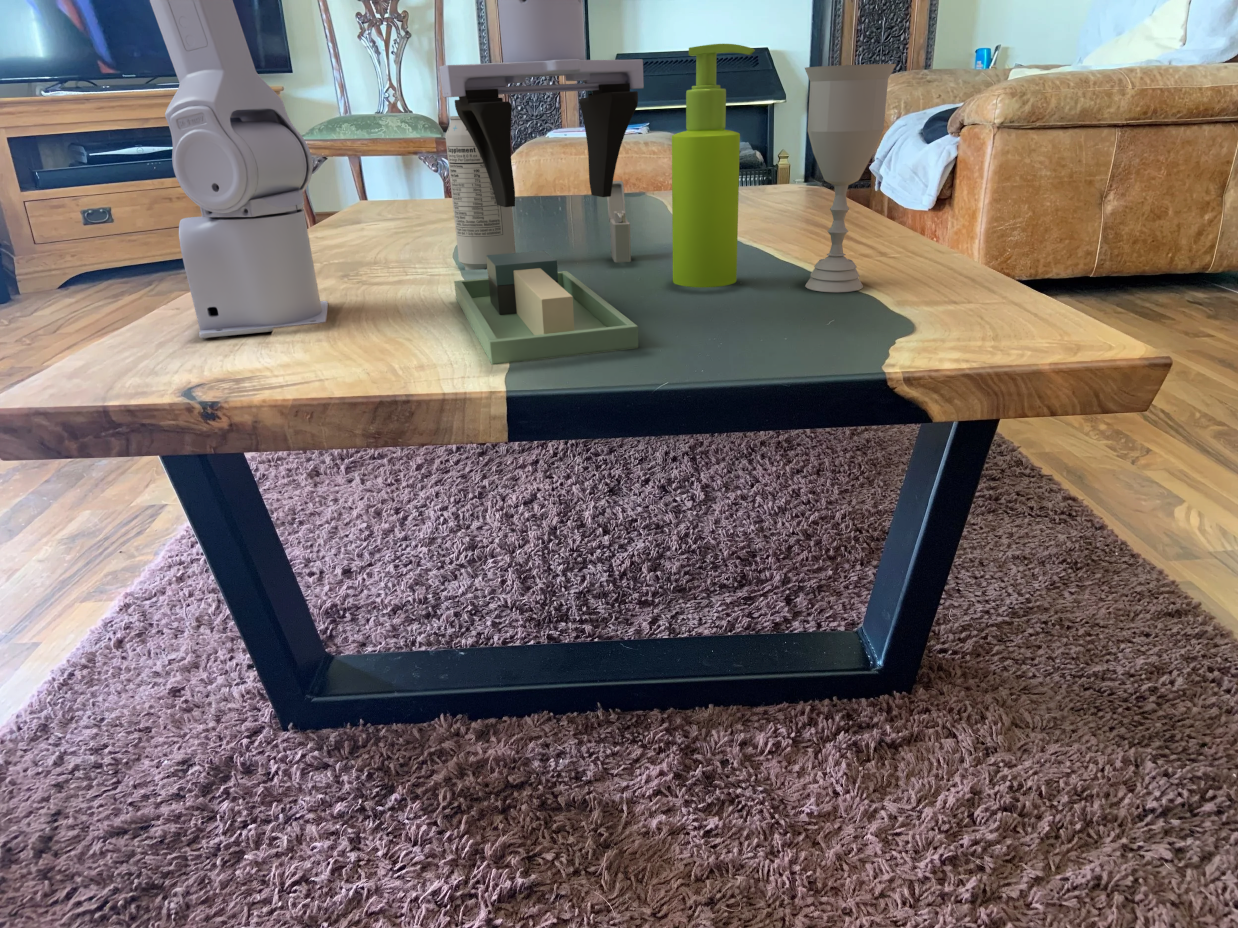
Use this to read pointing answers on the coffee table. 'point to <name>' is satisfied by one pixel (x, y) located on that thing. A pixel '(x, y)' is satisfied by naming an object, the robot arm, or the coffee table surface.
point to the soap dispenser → (706, 181)
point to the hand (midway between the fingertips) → (554, 201)
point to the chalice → (844, 150)
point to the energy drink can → (475, 202)
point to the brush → (530, 291)
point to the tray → (515, 342)
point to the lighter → (619, 224)
